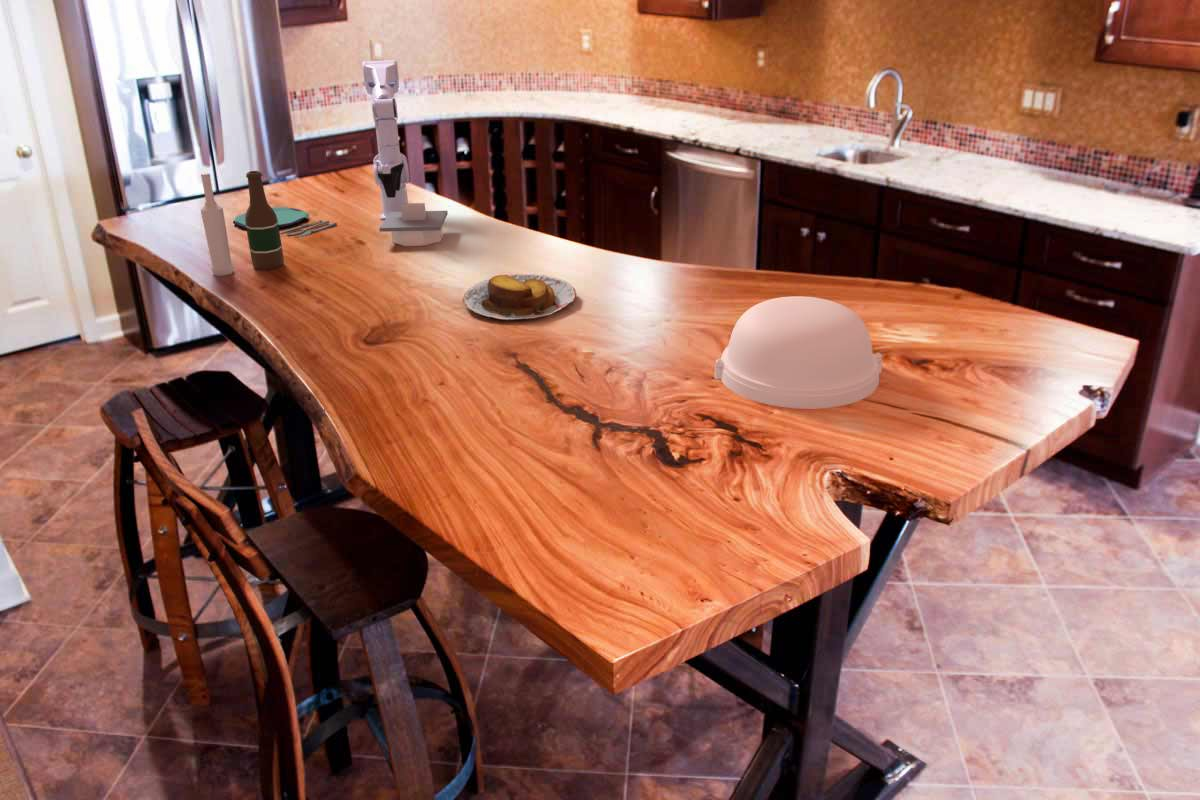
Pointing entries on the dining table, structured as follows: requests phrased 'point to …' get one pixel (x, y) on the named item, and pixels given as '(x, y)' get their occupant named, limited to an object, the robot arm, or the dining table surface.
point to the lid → (413, 219)
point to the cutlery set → (289, 221)
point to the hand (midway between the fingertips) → (393, 193)
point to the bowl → (417, 237)
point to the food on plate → (519, 296)
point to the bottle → (215, 231)
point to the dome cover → (800, 355)
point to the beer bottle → (262, 227)
